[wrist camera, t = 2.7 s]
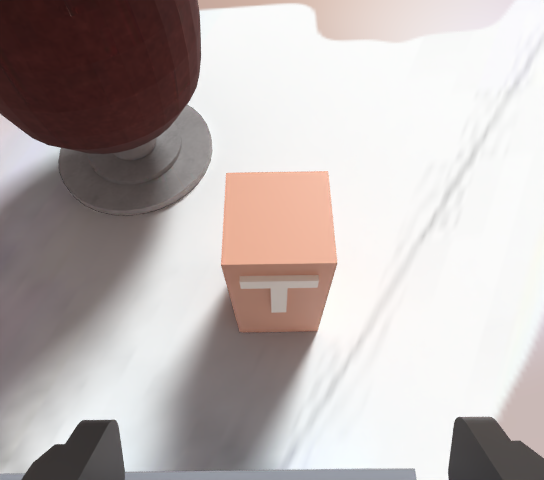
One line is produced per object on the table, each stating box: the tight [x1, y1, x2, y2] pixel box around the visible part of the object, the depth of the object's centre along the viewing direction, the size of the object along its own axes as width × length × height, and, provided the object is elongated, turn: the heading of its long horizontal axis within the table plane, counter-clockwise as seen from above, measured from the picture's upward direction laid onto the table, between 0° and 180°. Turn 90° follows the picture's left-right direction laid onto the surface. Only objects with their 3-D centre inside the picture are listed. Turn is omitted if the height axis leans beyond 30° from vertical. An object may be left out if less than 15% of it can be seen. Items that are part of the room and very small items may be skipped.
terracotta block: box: [221, 171, 337, 332], centre depth 23 cm, size 5×5×10 cm
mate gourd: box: [0, 0, 212, 215], centre depth 25 cm, size 16×14×20 cm
